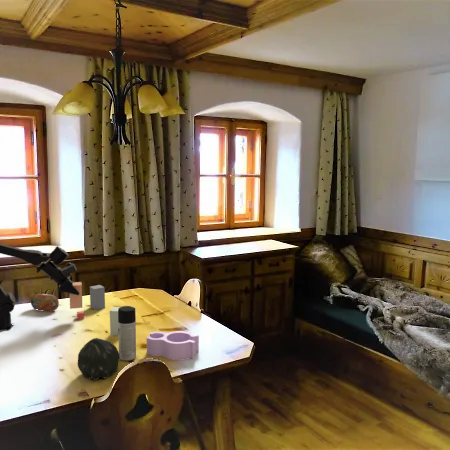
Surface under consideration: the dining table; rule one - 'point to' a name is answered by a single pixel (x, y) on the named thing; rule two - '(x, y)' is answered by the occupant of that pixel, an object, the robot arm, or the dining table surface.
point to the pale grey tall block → (114, 321)
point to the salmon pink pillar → (76, 296)
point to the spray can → (127, 333)
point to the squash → (98, 359)
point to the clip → (173, 345)
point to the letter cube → (80, 315)
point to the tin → (45, 302)
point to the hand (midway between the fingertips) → (78, 292)
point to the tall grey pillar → (97, 297)
